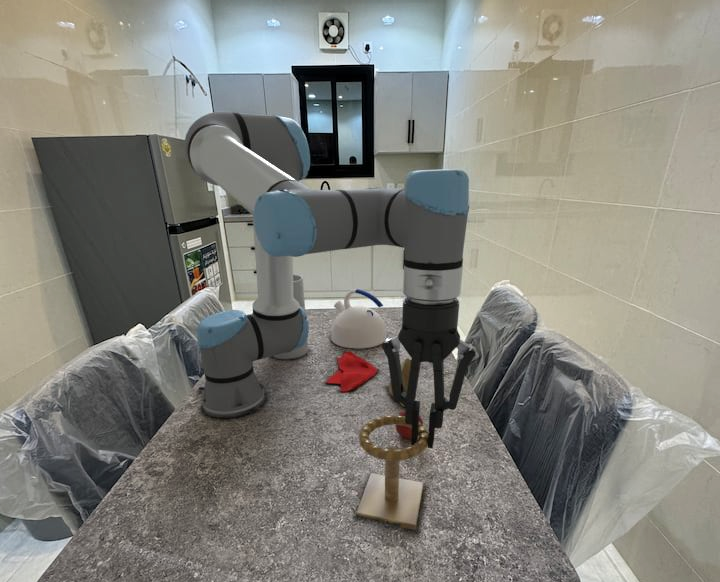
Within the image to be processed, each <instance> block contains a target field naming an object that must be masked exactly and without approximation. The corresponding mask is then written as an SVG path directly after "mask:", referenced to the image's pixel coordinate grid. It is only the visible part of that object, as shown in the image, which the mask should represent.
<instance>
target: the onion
mask: <svg viewBox="0 0 720 582" xmlns="http://www.w3.org/2000/svg"><path fill="white" fill-rule="evenodd" d="M405 411H406V409H404V410H402V411H401V412H400V413H399V414H397V415H398V416H405ZM419 422H420V423H421V424H422V425H424V422H423V419H422V417H421V415H420V414H419ZM395 430H396V432H397V434H398V435H399V436H401V438H404V439H407V440H408V439H409V440H411V435H412V428H409V427H407V426H403V425H395Z"/></svg>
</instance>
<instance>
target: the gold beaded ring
mask: <svg viewBox="0 0 720 582" xmlns="http://www.w3.org/2000/svg"><path fill="white" fill-rule="evenodd" d="M398 415H399V414H390V415H383V416H379V417H376V418H373V419H371V420H369V421H368V422H367V423H365V424H364V425H362V428H361V430H360V431H359V434H358V440H359V445H360V447H361V448H362V449H363V450H364V452H365V453H366V454H368V455H370V456H372V457H374V458H376V459H378V460H382V461H385V460H389V461H399V460H400V461H406V460H410V459H413V458H416V457H417V456H419V455H421V454H422V453H423V452H424V451H425V450H426V449H427V448H428V434H429V430H428V428H427V427H426V426H425V425H424V424H423V425H422V424H421V423H420V422H419V430H418V439H417V442H416V443H415V444H414V445H410V446H408V447H405V448H399V449H398V450H389V449H386V448H382V447H380V446H378V445H375V444H374V443H373V442H372V441H371V440H370V434H371V433H372V432H374V431H375V430H377V429H379V428H382V427H384V426H396V425H403V426H407V427H409V428H412V425H410V424H406V422H405V416H398Z"/></svg>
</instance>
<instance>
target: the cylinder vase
mask: <svg viewBox="0 0 720 582" xmlns="http://www.w3.org/2000/svg"><path fill="white" fill-rule="evenodd" d="M304 289H305V288H304V277H303V276H302V275H300V274H294V273H293V298H294V299H295V300H297V301H298V303H299V306H300V307H302V308H303V309H304V311H305V312H306V303H305V290H304ZM308 342H309V341H308V339H307V340H306V342H305V344H304V345H303V346H302V347H300V348H298V349H295V350H293V351H291V352H288V353H281V354H277V355H274V356H272V357H273V358H275V359H277V360H294V359H298V358H301V357H303V356H305V355H306V354H307V353H308V351H309V343H308Z"/></svg>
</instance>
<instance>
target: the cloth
mask: <svg viewBox="0 0 720 582" xmlns="http://www.w3.org/2000/svg"><path fill="white" fill-rule="evenodd" d="M337 365H338V368H339V369H338V370H337V371H336V372H335V373H334V374H332V375H331V376H330V377H329V378H328V379H327V381H326V384H329V385H331V384H332V385H334V384H335V385H340V389H339V392H341V393H343V392H344V393H345V392H350V391H351V390H352V391H353V390H355V389H356V388H357V387H359V386H361V385H363V384H364V383H365V382H367V381H368V380H369V379H370V378H371V379H372V377H374V376H375V374H376V373H377V372H378V369H377V367H375V366H374V365H373V364H372V363H370V362H368V361H367V360H365V359H364V358H363V357H360V356H359V355H357V354H356V353H354V352H353V351H352V350H348V351H345V352H344V353H343V354H342V356H341V357H337Z"/></svg>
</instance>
